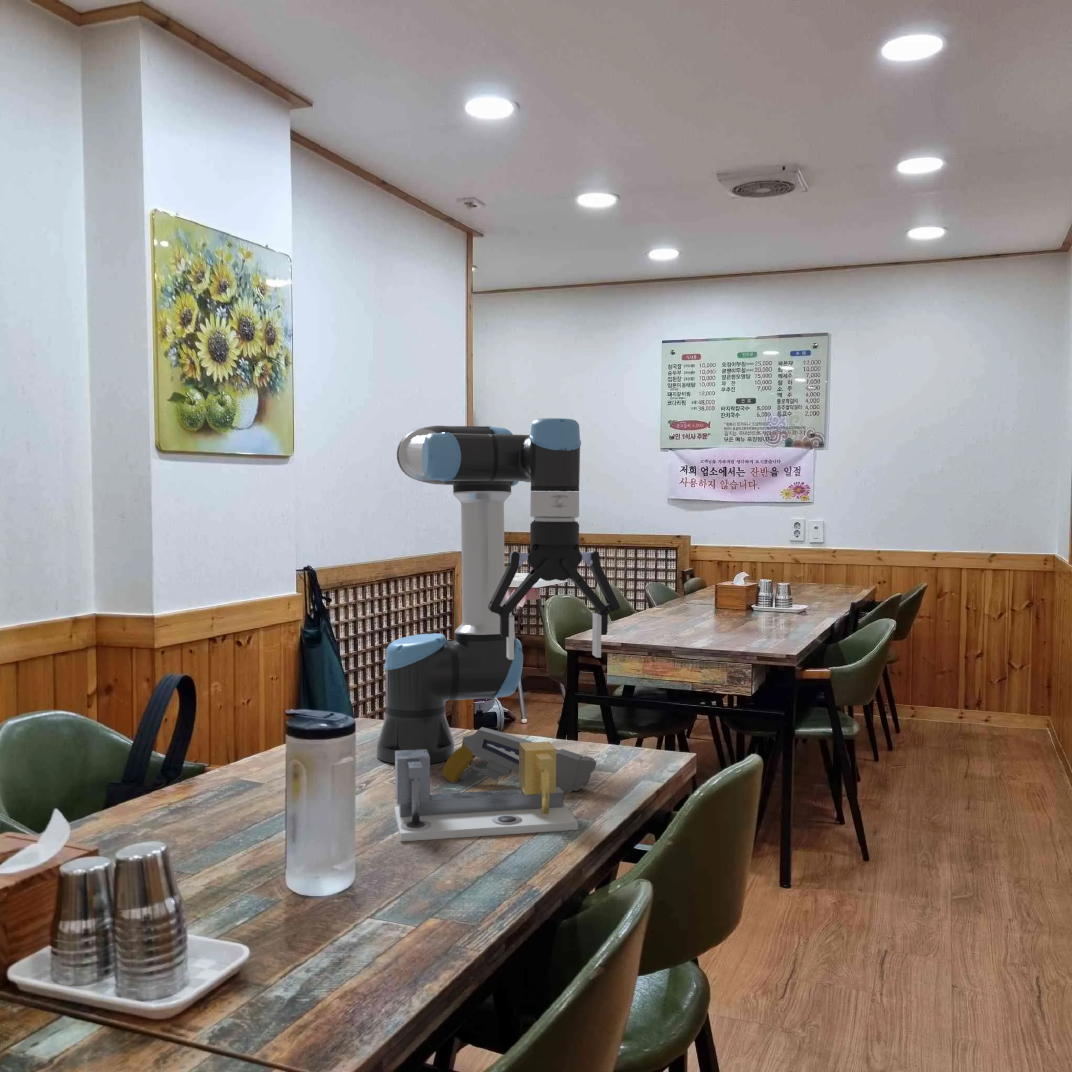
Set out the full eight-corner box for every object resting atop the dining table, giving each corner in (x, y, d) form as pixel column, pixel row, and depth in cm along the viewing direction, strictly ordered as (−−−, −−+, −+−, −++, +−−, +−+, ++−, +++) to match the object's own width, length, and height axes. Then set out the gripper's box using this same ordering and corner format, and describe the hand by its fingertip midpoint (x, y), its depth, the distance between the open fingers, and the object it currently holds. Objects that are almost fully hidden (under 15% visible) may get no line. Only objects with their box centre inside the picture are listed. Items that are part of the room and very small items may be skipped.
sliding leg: (518, 797, 164) (519, 743, 163) (548, 796, 165) (549, 741, 164) (530, 815, 155) (530, 757, 154) (561, 813, 156) (562, 755, 155)
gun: (563, 841, 174) (595, 764, 172) (437, 779, 179) (467, 703, 177) (567, 835, 177) (599, 759, 175) (443, 774, 182) (473, 699, 180)
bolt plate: (394, 813, 161) (394, 805, 161) (558, 804, 167) (558, 795, 167) (400, 841, 148) (400, 832, 148) (577, 829, 154) (578, 820, 154)
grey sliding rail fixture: (395, 809, 160) (395, 750, 159) (557, 799, 165) (558, 743, 165) (399, 828, 151) (399, 766, 150) (571, 817, 156) (571, 757, 156)
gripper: (476, 520, 148) (476, 663, 149) (640, 520, 153) (638, 659, 154) (471, 518, 156) (470, 655, 157) (626, 519, 160) (625, 651, 161)
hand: (553, 657), depth 155 cm, fingers open, 13 cm apart
